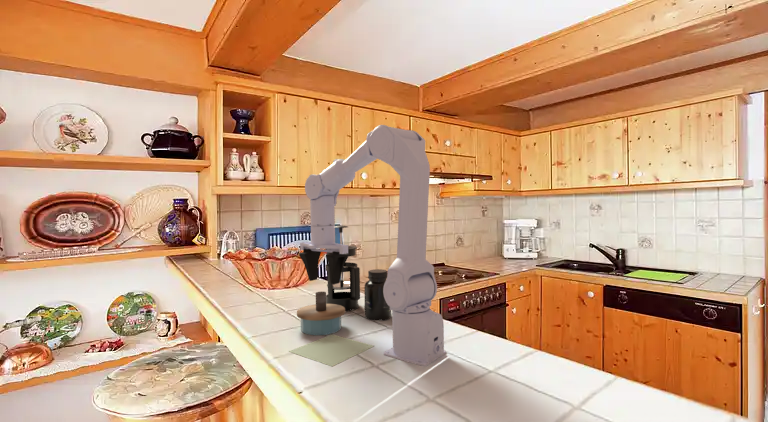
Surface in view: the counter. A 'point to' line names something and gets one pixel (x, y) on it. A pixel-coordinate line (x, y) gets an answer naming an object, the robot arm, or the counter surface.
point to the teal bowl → (321, 326)
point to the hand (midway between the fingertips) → (323, 281)
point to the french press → (345, 298)
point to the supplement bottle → (376, 296)
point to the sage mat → (331, 349)
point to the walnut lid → (320, 309)
